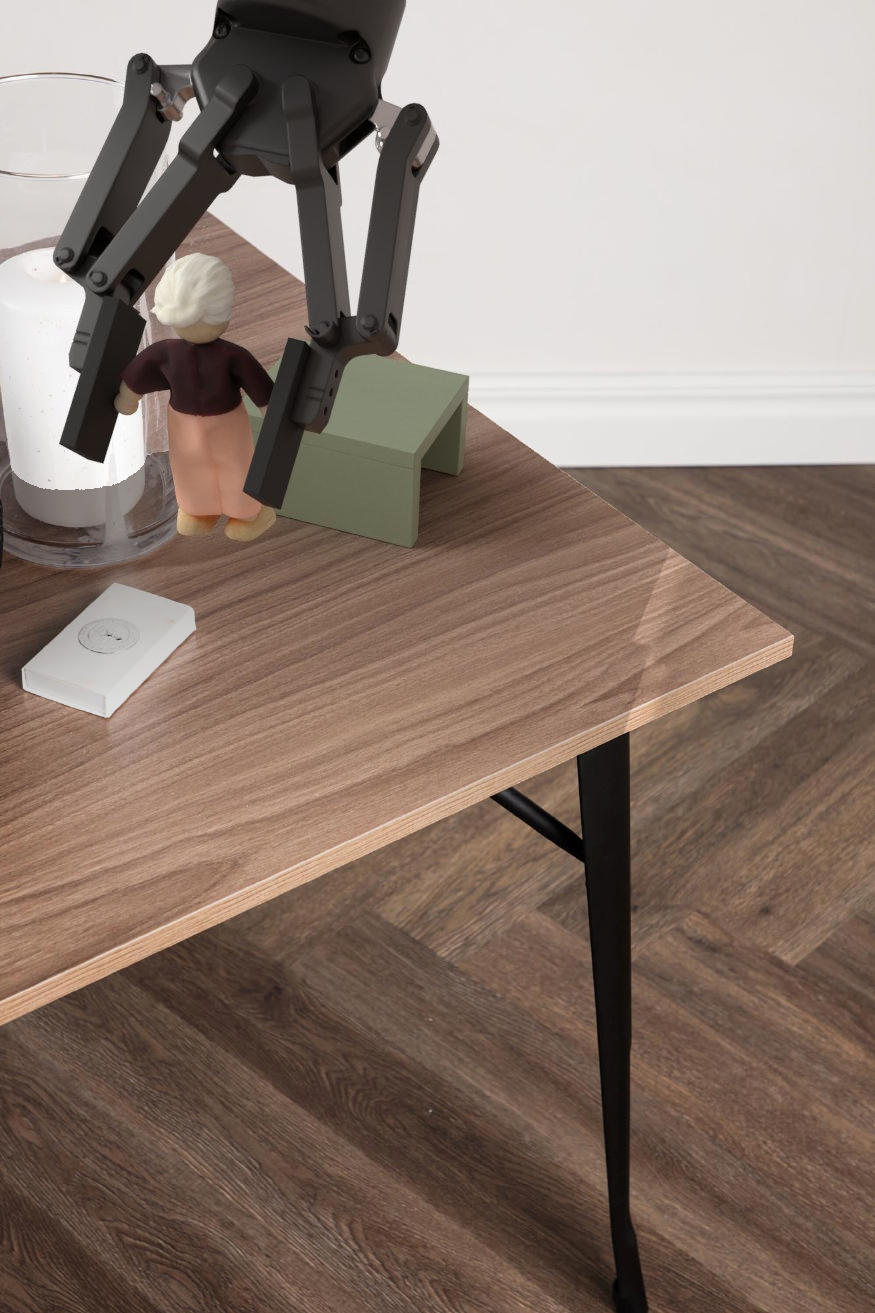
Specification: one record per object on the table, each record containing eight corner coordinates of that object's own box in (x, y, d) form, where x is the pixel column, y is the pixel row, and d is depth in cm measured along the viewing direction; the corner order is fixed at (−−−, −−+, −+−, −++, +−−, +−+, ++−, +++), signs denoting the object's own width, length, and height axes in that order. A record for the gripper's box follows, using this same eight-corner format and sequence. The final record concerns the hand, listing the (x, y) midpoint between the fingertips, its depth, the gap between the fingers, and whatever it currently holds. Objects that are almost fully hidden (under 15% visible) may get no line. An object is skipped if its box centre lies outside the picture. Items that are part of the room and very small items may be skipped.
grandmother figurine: (299, 496, 66) (291, 238, 58) (296, 546, 63) (288, 282, 55) (132, 494, 66) (100, 234, 57) (121, 544, 63) (86, 278, 54)
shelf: (236, 504, 91) (231, 409, 86) (300, 429, 98) (298, 337, 94) (411, 548, 88) (414, 453, 84) (463, 467, 95) (469, 375, 91)
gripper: (568, 48, 61) (421, 553, 60) (145, -23, 66) (2, 444, 65) (544, -55, 54) (376, 517, 53) (71, -127, 59) (-92, 397, 58)
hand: (170, 476), depth 59 cm, fingers closed on grandmother figurine, 8 cm apart
